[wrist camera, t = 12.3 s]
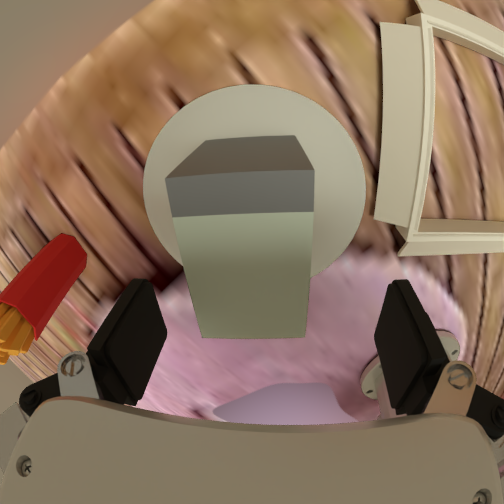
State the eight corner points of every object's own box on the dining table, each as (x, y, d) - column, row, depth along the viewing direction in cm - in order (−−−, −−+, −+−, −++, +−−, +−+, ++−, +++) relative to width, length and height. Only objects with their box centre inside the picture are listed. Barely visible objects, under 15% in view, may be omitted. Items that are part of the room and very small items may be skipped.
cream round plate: (350, 283, 21) (351, 288, 20) (169, 286, 22) (167, 291, 21) (367, 87, 13) (371, 87, 13) (130, 102, 14) (126, 102, 14)
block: (295, 256, 19) (304, 337, 13) (221, 258, 19) (202, 338, 13) (295, 135, 15) (314, 169, 9) (205, 140, 15) (164, 178, 9)
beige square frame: (521, 247, 18) (532, 259, 16) (364, 252, 19) (373, 270, 17) (548, 65, 8) (564, 68, 6) (371, -16, 9) (383, -26, 7)
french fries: (55, 285, 23) (-6, 377, 13) (31, 255, 21) (-39, 342, 11) (103, 258, 21) (26, 377, 11) (76, 219, 19) (-22, 328, 9)
